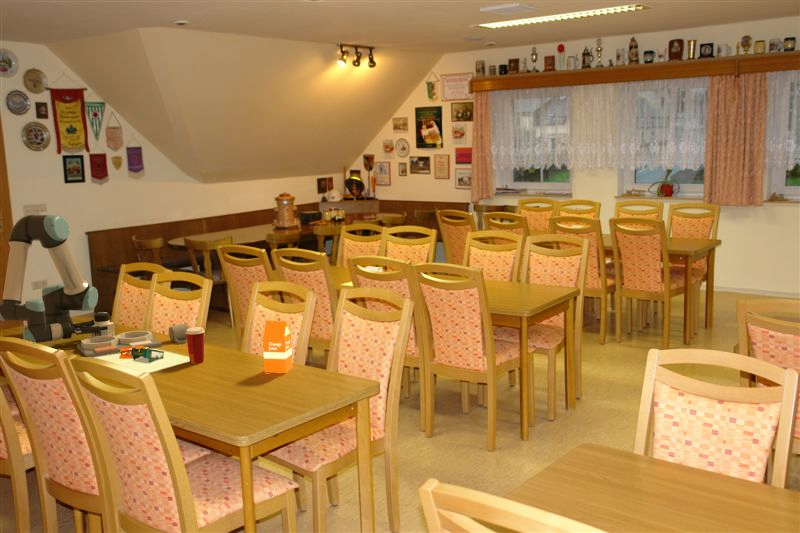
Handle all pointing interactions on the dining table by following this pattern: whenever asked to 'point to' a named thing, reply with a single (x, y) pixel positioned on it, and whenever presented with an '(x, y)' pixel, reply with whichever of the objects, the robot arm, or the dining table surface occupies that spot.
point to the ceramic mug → (178, 333)
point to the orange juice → (277, 347)
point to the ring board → (116, 343)
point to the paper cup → (195, 344)
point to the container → (102, 320)
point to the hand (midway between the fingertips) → (111, 324)
